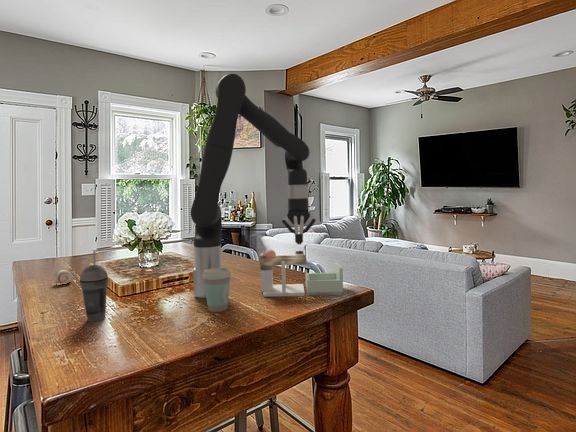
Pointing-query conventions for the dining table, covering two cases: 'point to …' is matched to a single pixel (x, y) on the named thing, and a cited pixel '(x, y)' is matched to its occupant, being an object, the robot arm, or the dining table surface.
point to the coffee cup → (217, 288)
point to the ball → (270, 254)
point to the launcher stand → (282, 289)
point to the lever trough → (289, 260)
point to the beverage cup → (94, 291)
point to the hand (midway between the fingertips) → (299, 244)
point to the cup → (325, 282)
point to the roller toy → (63, 276)
